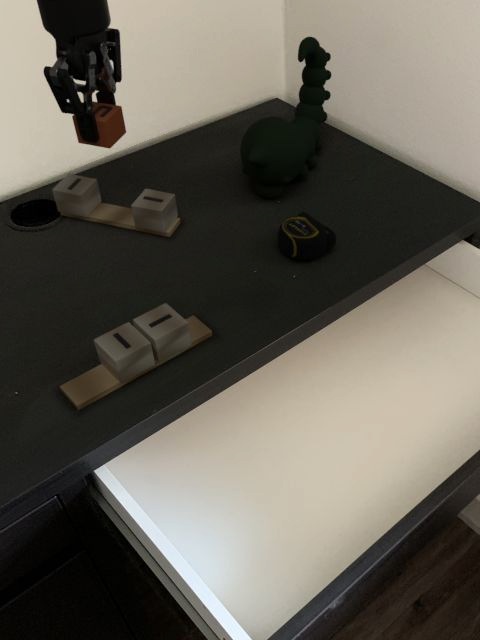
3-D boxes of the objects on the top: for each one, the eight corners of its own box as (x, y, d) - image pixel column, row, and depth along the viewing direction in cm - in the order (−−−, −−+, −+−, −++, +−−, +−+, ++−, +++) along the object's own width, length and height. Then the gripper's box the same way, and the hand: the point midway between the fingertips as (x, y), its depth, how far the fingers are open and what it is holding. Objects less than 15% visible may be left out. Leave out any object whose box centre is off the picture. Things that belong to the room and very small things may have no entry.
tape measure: (337, 252, 91) (339, 229, 88) (298, 271, 88) (299, 248, 85) (306, 229, 94) (307, 206, 91) (267, 246, 91) (267, 223, 88)
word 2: (80, 412, 71) (70, 384, 68) (59, 389, 73) (48, 361, 70) (214, 337, 79) (211, 309, 76) (192, 318, 81) (188, 290, 78)
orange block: (78, 143, 84) (71, 115, 82) (95, 127, 87) (89, 99, 85) (110, 148, 84) (104, 121, 81) (126, 132, 86) (121, 105, 84)
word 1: (59, 216, 95) (51, 189, 92) (75, 200, 98) (68, 172, 94) (169, 238, 92) (164, 211, 89) (181, 221, 95) (178, 193, 91)
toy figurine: (287, 146, 113) (220, 208, 96) (293, 22, 100) (216, 69, 83) (339, 158, 111) (279, 224, 94) (352, 33, 98) (285, 84, 81)
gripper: (71, -43, 77) (101, 103, 90) (-1, -3, 68) (45, 153, 81) (129, -36, 76) (152, 111, 89) (64, 6, 67) (100, 163, 80)
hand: (100, 130), depth 85 cm, fingers closed on orange block, 4 cm apart
